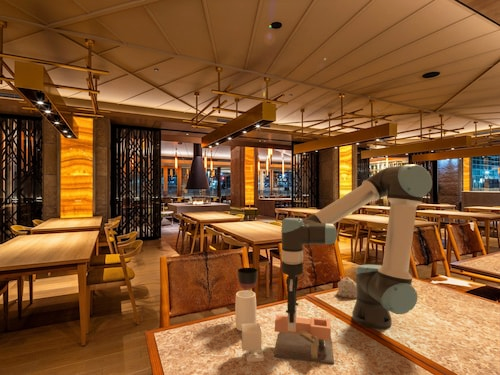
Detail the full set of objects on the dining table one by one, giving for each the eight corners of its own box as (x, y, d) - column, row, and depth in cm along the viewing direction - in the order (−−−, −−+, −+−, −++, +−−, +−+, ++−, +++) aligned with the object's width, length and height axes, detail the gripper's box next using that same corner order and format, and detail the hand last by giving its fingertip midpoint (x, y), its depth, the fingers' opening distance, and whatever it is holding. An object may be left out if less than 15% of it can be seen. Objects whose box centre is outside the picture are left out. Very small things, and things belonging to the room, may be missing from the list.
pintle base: (330, 338, 103) (330, 318, 103) (334, 367, 87) (334, 343, 87) (279, 333, 108) (279, 313, 108) (273, 359, 91) (273, 336, 91)
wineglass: (256, 320, 118) (255, 273, 118) (236, 318, 120) (235, 272, 120) (259, 312, 126) (258, 268, 126) (240, 310, 127) (240, 267, 127)
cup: (259, 326, 113) (259, 291, 113) (252, 336, 105) (252, 299, 105) (239, 323, 116) (239, 289, 116) (231, 333, 108) (231, 296, 108)
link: (329, 330, 99) (329, 319, 99) (330, 340, 93) (330, 328, 93) (276, 324, 104) (276, 313, 103) (274, 333, 97) (274, 321, 97)
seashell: (367, 299, 140) (367, 279, 140) (339, 299, 140) (339, 279, 140) (359, 290, 152) (359, 272, 152) (333, 290, 153) (333, 272, 153)
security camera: (241, 352, 95) (241, 322, 95) (261, 350, 96) (261, 321, 96) (242, 363, 89) (242, 332, 89) (264, 362, 90) (263, 331, 90)
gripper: (284, 255, 108) (284, 315, 108) (278, 267, 92) (278, 338, 92) (303, 256, 107) (303, 317, 106) (302, 269, 90) (302, 341, 90)
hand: (292, 327), depth 99 cm, fingers closed on link, 4 cm apart
